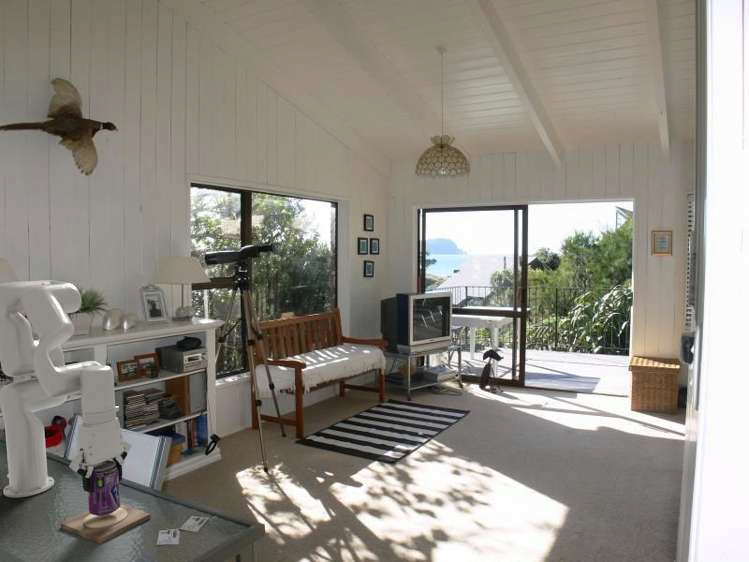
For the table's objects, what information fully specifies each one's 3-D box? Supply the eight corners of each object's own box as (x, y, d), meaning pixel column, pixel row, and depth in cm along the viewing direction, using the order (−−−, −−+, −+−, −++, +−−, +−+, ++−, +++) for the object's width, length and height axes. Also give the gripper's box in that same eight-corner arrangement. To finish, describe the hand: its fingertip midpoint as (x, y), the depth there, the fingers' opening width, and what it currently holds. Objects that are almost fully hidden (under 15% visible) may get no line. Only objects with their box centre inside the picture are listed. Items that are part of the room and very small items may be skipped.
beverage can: (108, 519, 143) (105, 471, 142) (82, 517, 144) (80, 469, 143) (126, 505, 150) (123, 460, 149) (101, 503, 151) (99, 458, 150)
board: (60, 527, 145) (60, 521, 145) (111, 504, 157) (111, 499, 157) (100, 543, 137) (99, 537, 137) (150, 518, 149) (150, 512, 149)
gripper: (120, 405, 154) (124, 470, 156) (56, 423, 140) (60, 496, 141) (139, 408, 150) (142, 475, 152) (74, 428, 136) (79, 502, 137)
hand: (103, 485), depth 146 cm, fingers closed on beverage can, 7 cm apart
